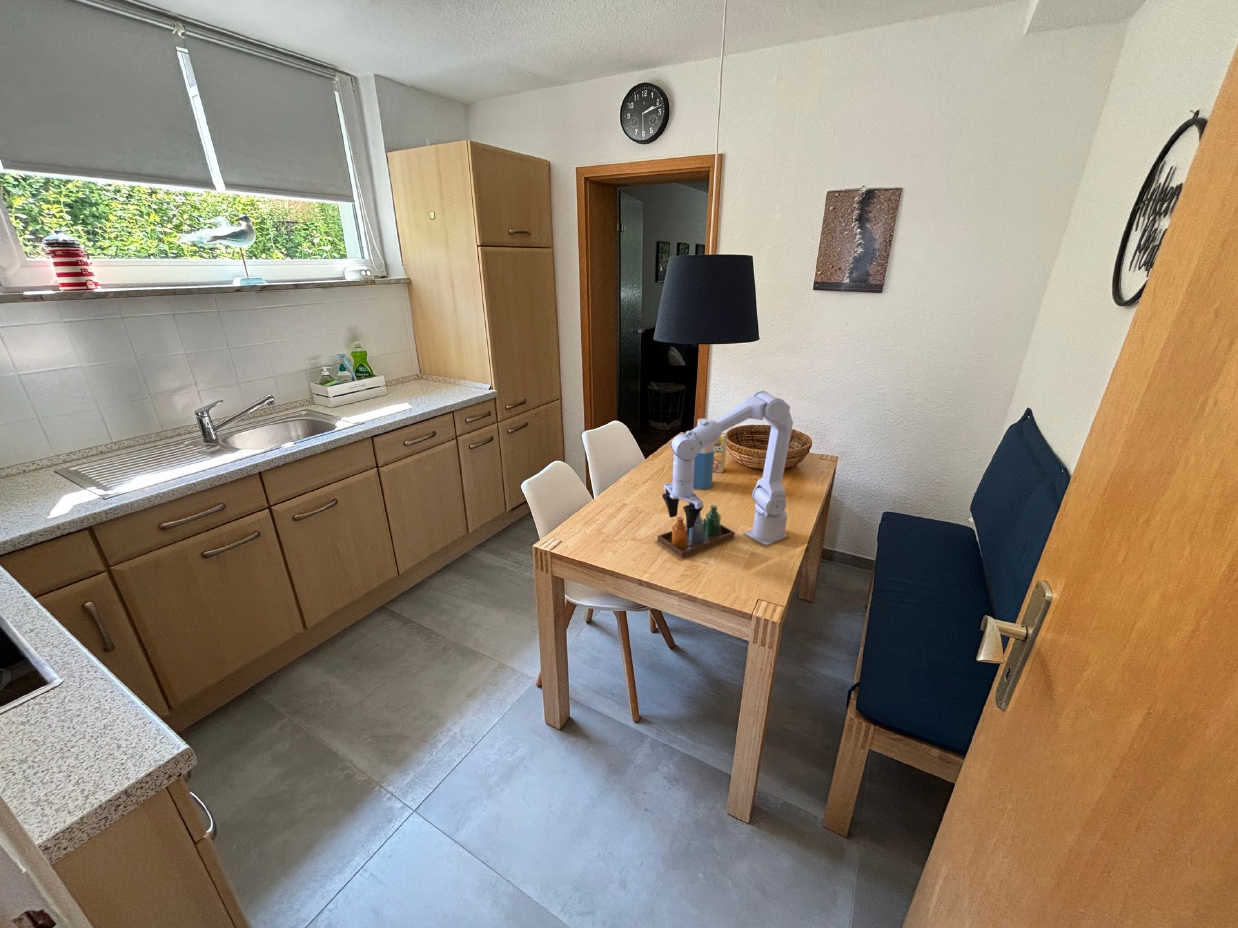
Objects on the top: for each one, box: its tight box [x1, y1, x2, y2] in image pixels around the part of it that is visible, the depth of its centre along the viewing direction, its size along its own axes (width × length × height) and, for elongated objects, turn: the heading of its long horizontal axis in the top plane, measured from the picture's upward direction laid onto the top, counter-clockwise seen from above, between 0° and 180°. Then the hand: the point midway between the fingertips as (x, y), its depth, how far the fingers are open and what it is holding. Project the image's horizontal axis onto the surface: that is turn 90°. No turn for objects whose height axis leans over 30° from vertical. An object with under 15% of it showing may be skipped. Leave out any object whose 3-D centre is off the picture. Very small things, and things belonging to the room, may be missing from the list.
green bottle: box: [705, 504, 722, 537], centre depth 149 cm, size 4×4×9 cm
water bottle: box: [693, 417, 715, 490], centre depth 181 cm, size 9×9×25 cm
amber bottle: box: [671, 516, 688, 550], centre depth 143 cm, size 4×4×9 cm
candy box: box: [713, 432, 728, 474], centre depth 196 cm, size 9×4×15 cm, turn 62°
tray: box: [657, 518, 735, 559], centre depth 148 cm, size 20×11×2 cm, turn 123°
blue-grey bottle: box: [689, 511, 705, 543], centre depth 146 cm, size 4×4×9 cm
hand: (681, 521), depth 141 cm, fingers open, 7 cm apart
